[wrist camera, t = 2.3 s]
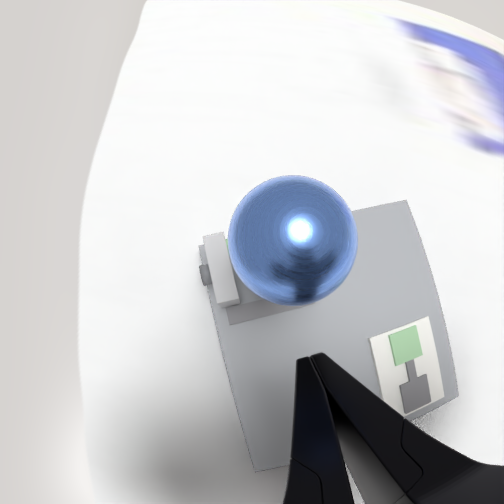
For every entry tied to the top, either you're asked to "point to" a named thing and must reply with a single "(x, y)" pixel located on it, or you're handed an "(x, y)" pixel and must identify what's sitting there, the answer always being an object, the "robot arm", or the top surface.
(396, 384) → the switch panel
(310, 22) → the top surface
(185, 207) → the top surface
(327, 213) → the lever
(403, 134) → the top surface
